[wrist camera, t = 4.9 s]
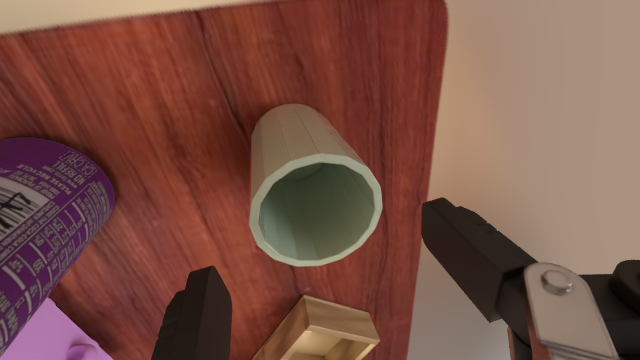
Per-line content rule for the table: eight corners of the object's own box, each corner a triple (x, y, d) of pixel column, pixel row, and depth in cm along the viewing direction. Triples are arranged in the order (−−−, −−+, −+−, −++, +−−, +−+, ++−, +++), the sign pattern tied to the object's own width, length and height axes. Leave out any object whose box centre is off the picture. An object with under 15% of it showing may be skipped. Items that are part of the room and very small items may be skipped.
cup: (278, 85, 18) (297, 127, 10) (348, 130, 20) (407, 191, 12) (235, 159, 19) (224, 243, 12) (305, 192, 22) (333, 279, 14)
